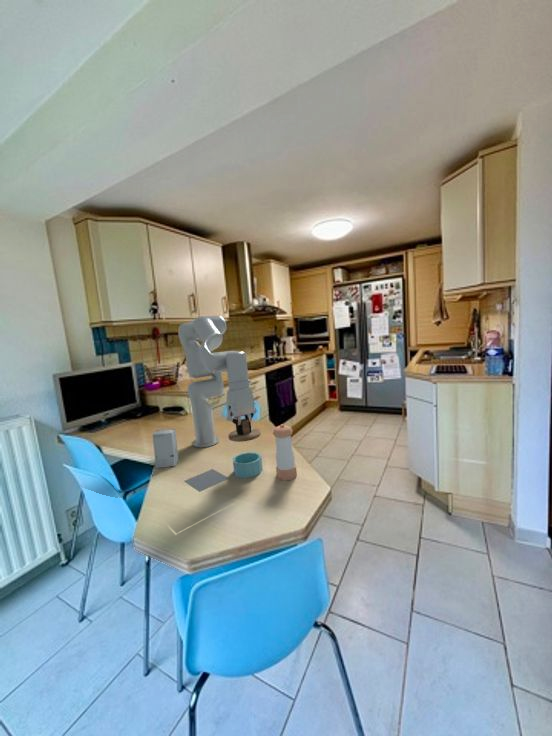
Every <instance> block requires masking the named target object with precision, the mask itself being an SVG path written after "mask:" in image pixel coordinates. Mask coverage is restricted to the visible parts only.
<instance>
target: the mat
mask: <svg viewBox="0 0 552 736" xmlns="http://www.w3.org/2000/svg"><path fill="white" fill-rule="evenodd" d="M229 479H230V477H228V476H227V475H225V474H223V473H221V472H218V471H217V470H215V469H214V468H212V469H210V470H207V471H204V472H202V473H200V474H197V475H196V476H193V477H190V478H188V479H185V480H184V482H185V483H186V484H188V486H190V487H192V488H193V489H195V490H196V491H198V492H199V493H200V492H203V491H205V490H206V489H208V488H212V487H213V486H216V485H217V484H220V483H222V482H224V481H226V480H229Z"/></svg>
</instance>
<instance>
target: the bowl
mask: <svg viewBox="0 0 552 736" xmlns="http://www.w3.org/2000/svg"><path fill="white" fill-rule="evenodd" d="M232 466H233V467H232V468H233V473H234V476H235V477H238V478H242V479H243V478H244V479H247V478H248V479H249V478H252V477H255V476H258V475H259V474H261V473H262V472H263V469H264V468H263V461H262V455H261V454H260V453H258V452H256V451H255V452H254V451H252V452H251V451H249V452H248V451H247V452H243V453H240V454H237V455H235V456H234V457H233V458H232Z"/></svg>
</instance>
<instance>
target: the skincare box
mask: <svg viewBox="0 0 552 736" xmlns="http://www.w3.org/2000/svg"><path fill="white" fill-rule="evenodd" d="M152 442H153V443H152V444H153V451H154V452H153V453H154V461H155V469H159V468H158V467H163V468H169V467H168V466H174V467H176V465H177V464H178V463H179V452H178V441H177V431H176V429H175V428H174V429H173V428H172V429H170V428H169V429H167V428H166V429H159V430H156V431H155V432H153V433H152ZM177 462H178V463H177Z"/></svg>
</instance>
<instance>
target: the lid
mask: <svg viewBox="0 0 552 736" xmlns="http://www.w3.org/2000/svg"><path fill="white" fill-rule="evenodd" d="M241 425H242V427H243V435H239V434H237V432H236V429H235V430H233V431H230V433H228V440H229V441H232V442H237V443H238V442H242V443H243V442H248V441H252V440H256V439H257V438H259V437H260V436H261V430H260V429H259V428H255V427H251V432H250V428H249V420H247V419H245V418H241Z"/></svg>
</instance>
